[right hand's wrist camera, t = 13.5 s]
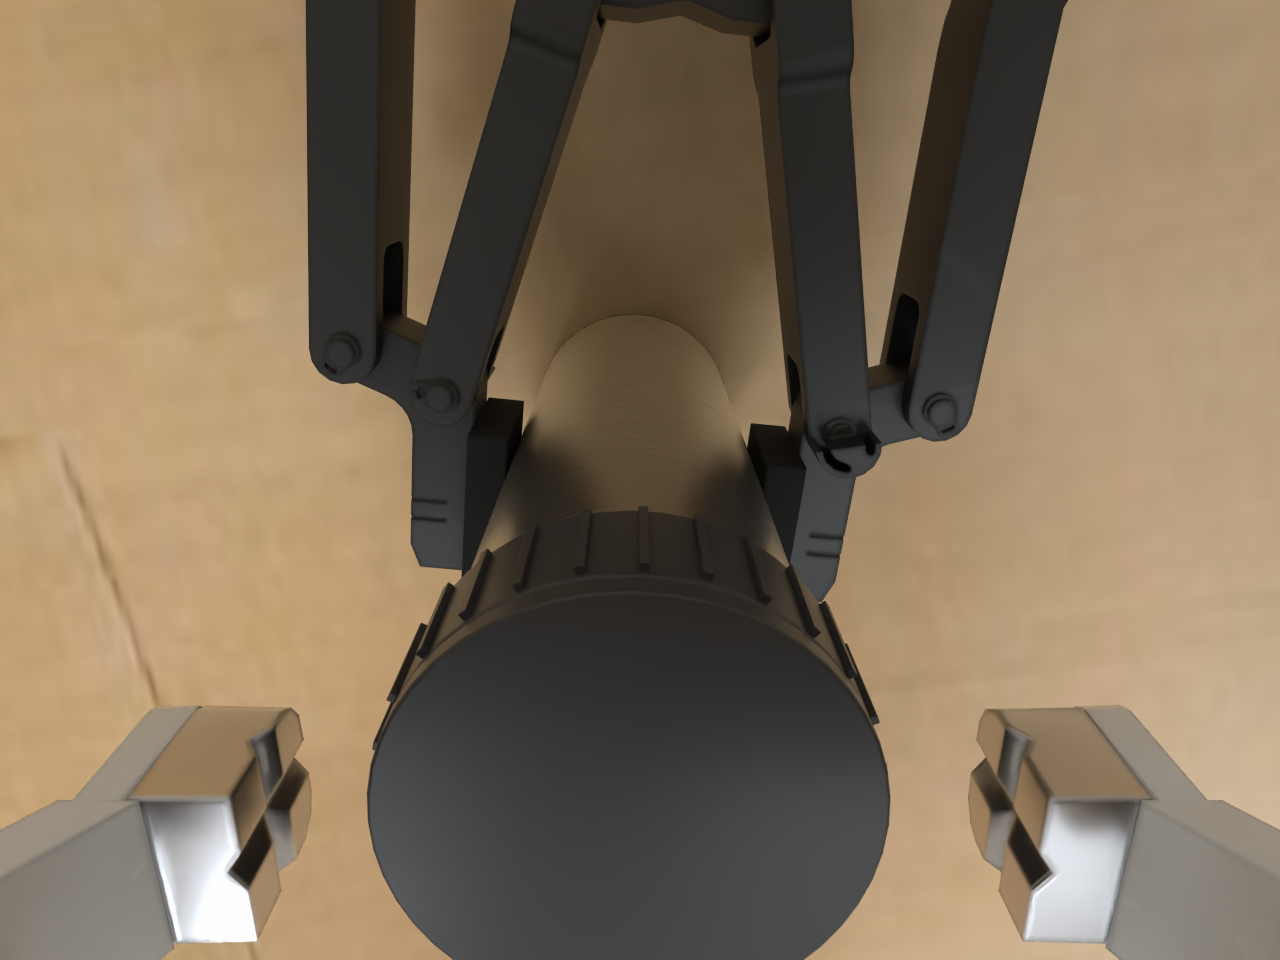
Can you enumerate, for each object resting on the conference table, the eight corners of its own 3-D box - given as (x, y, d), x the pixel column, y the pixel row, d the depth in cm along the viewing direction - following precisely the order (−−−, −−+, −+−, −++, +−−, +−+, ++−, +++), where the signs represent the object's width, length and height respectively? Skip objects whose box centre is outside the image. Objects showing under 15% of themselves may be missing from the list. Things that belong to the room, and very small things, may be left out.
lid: (311, 670, 11) (243, 780, 9) (680, 406, 10) (691, 471, 8) (590, 944, 13) (581, 1089, 11) (936, 745, 12) (996, 866, 10)
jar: (502, 388, 24) (305, 758, 10) (652, 275, 23) (680, 500, 9) (615, 524, 26) (588, 1028, 11) (760, 423, 25) (942, 833, 10)
